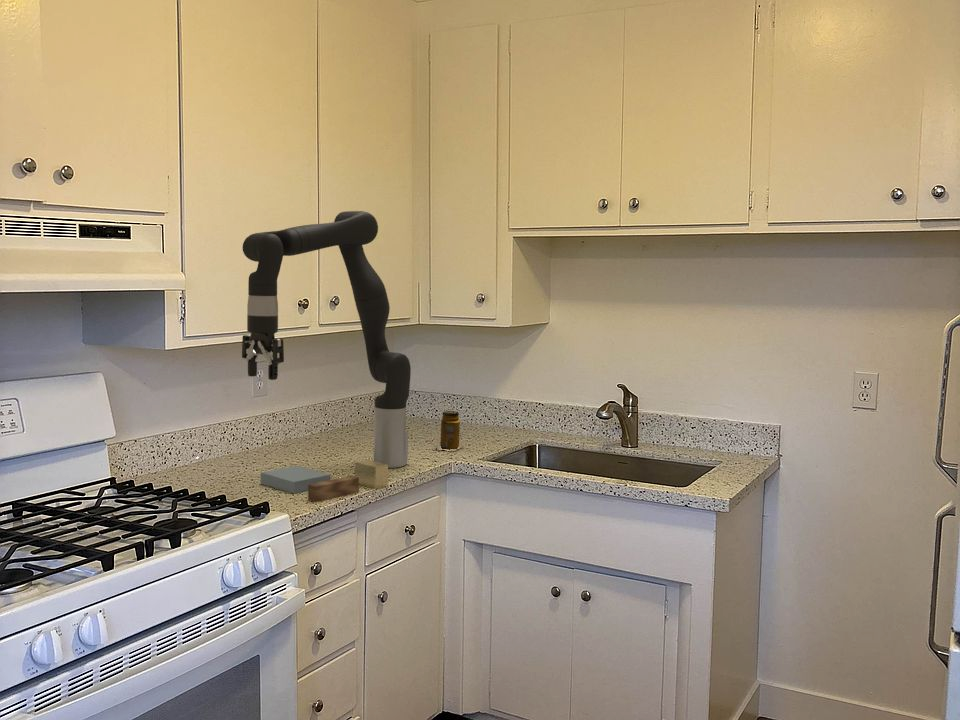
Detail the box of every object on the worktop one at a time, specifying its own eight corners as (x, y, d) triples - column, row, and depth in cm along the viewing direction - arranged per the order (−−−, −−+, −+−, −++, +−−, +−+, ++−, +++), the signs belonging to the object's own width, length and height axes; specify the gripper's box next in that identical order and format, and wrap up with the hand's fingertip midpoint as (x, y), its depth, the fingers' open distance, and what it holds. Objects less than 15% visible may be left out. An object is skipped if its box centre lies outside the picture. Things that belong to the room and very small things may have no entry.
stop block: (351, 490, 233) (351, 475, 233) (358, 492, 231) (359, 477, 231) (308, 500, 222) (308, 484, 222) (315, 502, 220) (316, 486, 220)
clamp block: (367, 481, 244) (367, 459, 243) (387, 486, 239) (388, 464, 238) (354, 484, 241) (355, 462, 240) (375, 489, 235) (375, 467, 235)
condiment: (463, 447, 292) (464, 411, 291) (454, 452, 284) (455, 415, 283) (442, 445, 294) (443, 409, 293) (432, 450, 286) (433, 413, 285)
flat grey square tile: (297, 476, 246) (297, 465, 245) (330, 485, 237) (330, 474, 236) (260, 483, 237) (260, 472, 236) (293, 493, 228) (293, 481, 227)
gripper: (292, 315, 223) (292, 379, 225) (258, 311, 232) (257, 374, 234) (267, 315, 217) (267, 382, 219) (233, 312, 227) (233, 376, 228)
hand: (262, 377), depth 227 cm, fingers open, 8 cm apart
